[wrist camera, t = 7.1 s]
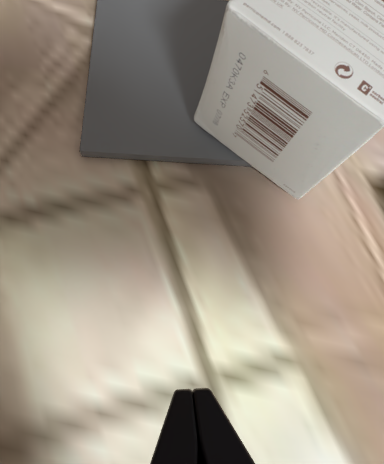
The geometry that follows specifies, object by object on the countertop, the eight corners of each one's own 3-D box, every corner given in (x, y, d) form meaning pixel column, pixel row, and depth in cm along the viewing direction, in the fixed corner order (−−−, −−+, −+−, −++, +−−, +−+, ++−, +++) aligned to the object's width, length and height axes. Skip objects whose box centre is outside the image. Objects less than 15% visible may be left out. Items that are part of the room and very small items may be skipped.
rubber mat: (264, 167, 20) (267, 162, 20) (81, 156, 19) (79, 150, 19) (257, 12, 23) (260, 3, 23) (100, -4, 23) (98, -13, 22)
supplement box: (187, 121, 20) (303, 2, 24) (298, 205, 19) (395, 68, 24) (220, -5, 13) (373, -140, 17) (394, 122, 12) (507, -51, 17)
